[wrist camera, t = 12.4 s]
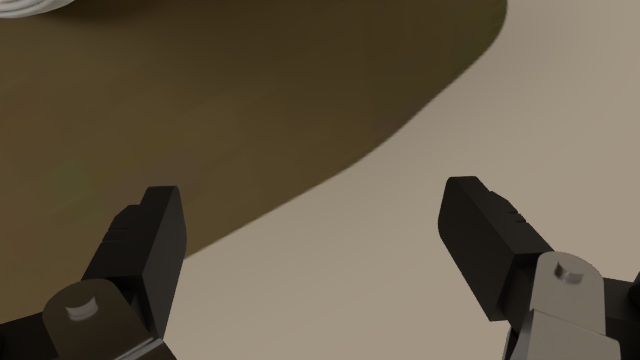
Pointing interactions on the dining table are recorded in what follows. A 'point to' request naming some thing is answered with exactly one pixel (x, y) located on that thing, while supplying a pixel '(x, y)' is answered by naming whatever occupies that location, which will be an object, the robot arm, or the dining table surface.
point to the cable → (28, 7)
